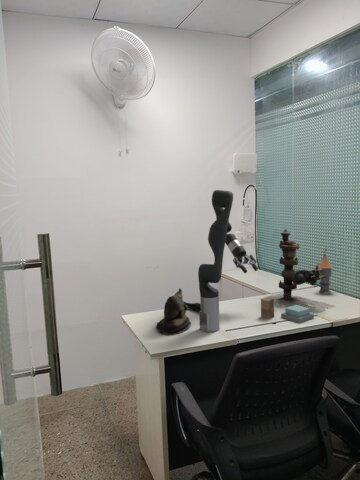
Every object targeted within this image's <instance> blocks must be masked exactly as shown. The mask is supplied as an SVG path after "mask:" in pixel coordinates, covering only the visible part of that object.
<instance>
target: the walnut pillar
mask: <svg viewBox="0 0 360 480" xmlns="http://www.w3.org/2000/svg"><path fill="white" fill-rule="evenodd" d="M265 297H266V298H264V297H261V298H262V299H260V317H261V318H265V319H272V318H275V302H274V299H272V298H268V297H267V296H265Z"/></svg>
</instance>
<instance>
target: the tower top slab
mask: <svg viewBox="0 0 360 480" xmlns="http://www.w3.org/2000/svg"><path fill="white" fill-rule="evenodd" d="M303 306H304V305H294V306H287V307H284V308H285V309H284V310H285V311H284V312H285V313H286V314H289V315H293V316H296V317H302V316H305V315H308V314H310V313H311V311H310V308H306V307H307V306H306V307H303Z"/></svg>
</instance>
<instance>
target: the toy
mask: <svg viewBox="0 0 360 480" xmlns="http://www.w3.org/2000/svg"><path fill="white" fill-rule="evenodd" d="M183 303H184V304H185V305H186V306H187V309H190V310H197V312H198V313H199V311H201V302H194V303H191V302H186V301H183Z"/></svg>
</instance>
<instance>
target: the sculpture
mask: <svg viewBox="0 0 360 480" xmlns="http://www.w3.org/2000/svg"><path fill="white" fill-rule="evenodd" d="M183 302H184V300H183V291H182V289H181V288H179V289H178V291H177V292H175V294H173V295H172V296H169V297H168V298H167V299H166V301H165V302H164V308H163V318H162V319H160V320H159V321H157V322H156V325H155V327H156V329H157V330H158V331H159V332H160V333H163V334H165V335H167V336H171V335H172V336H173V335H176V334H183V333H184V332H186V331H187V330H188V329H189V328H190V327H191V326H192V324H193V323H192V321H191V319H190V318H189V317H188V315H187V314H186V313H187V311H188V308H187V306H186V305H185V304H184V303H183Z"/></svg>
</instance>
